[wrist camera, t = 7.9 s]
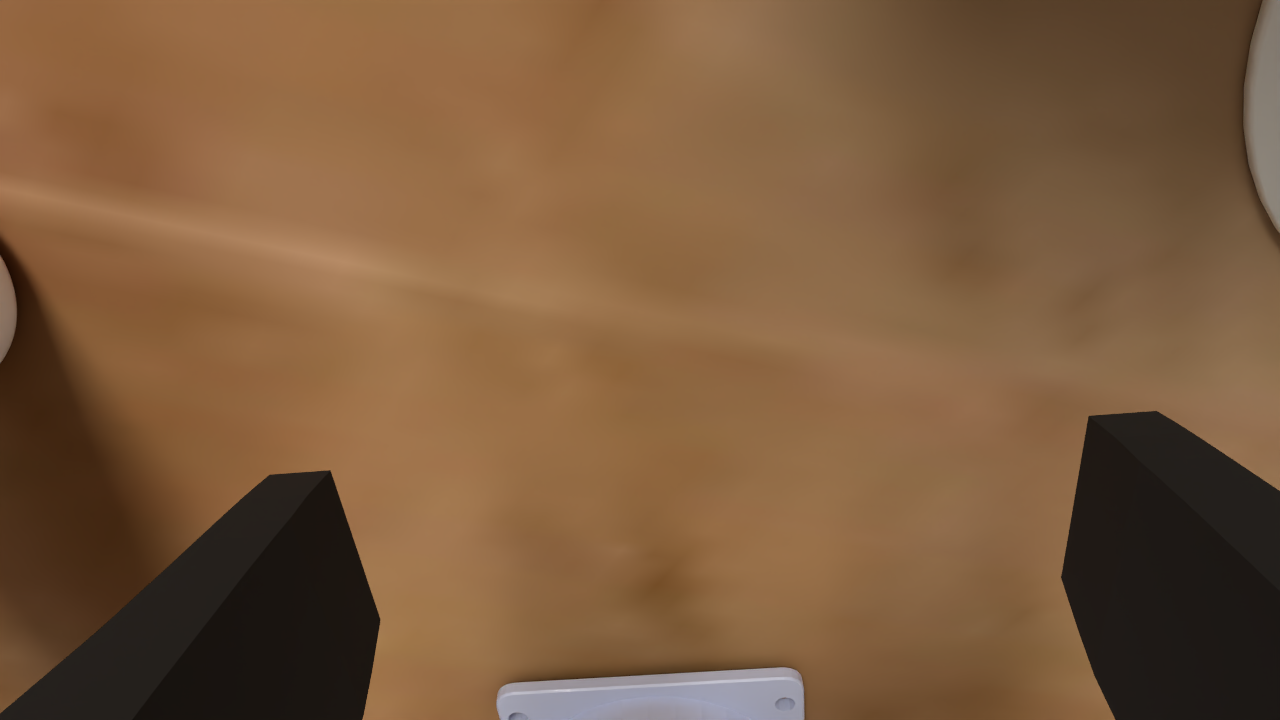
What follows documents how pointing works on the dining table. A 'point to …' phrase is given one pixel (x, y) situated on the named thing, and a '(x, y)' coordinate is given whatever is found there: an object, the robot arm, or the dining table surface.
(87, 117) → the dining table surface
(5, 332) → the drinking glass
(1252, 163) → the mat
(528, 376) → the dining table surface
